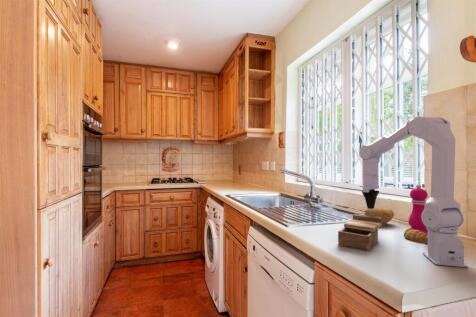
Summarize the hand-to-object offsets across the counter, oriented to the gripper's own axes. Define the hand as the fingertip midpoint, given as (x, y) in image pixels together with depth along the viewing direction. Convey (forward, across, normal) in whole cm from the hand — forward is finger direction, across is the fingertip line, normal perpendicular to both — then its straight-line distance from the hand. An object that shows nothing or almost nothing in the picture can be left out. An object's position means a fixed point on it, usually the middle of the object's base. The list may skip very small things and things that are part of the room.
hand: (370, 208), depth 107 cm
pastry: (+11, -3, +16) cm, 19 cm away
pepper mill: (+11, -14, +15) cm, 23 cm away
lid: (+5, +11, 0) cm, 12 cm away
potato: (+11, -20, -1) cm, 22 cm away
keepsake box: (+10, +17, 0) cm, 20 cm away
